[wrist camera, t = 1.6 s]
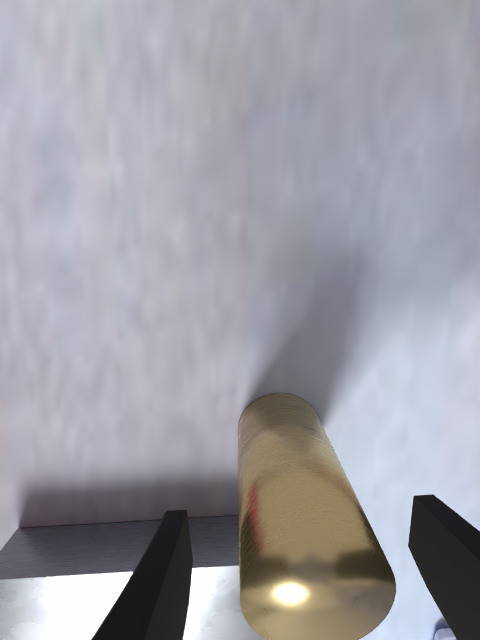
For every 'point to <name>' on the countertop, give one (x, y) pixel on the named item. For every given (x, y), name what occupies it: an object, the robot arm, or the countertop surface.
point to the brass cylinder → (303, 531)
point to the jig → (113, 579)
